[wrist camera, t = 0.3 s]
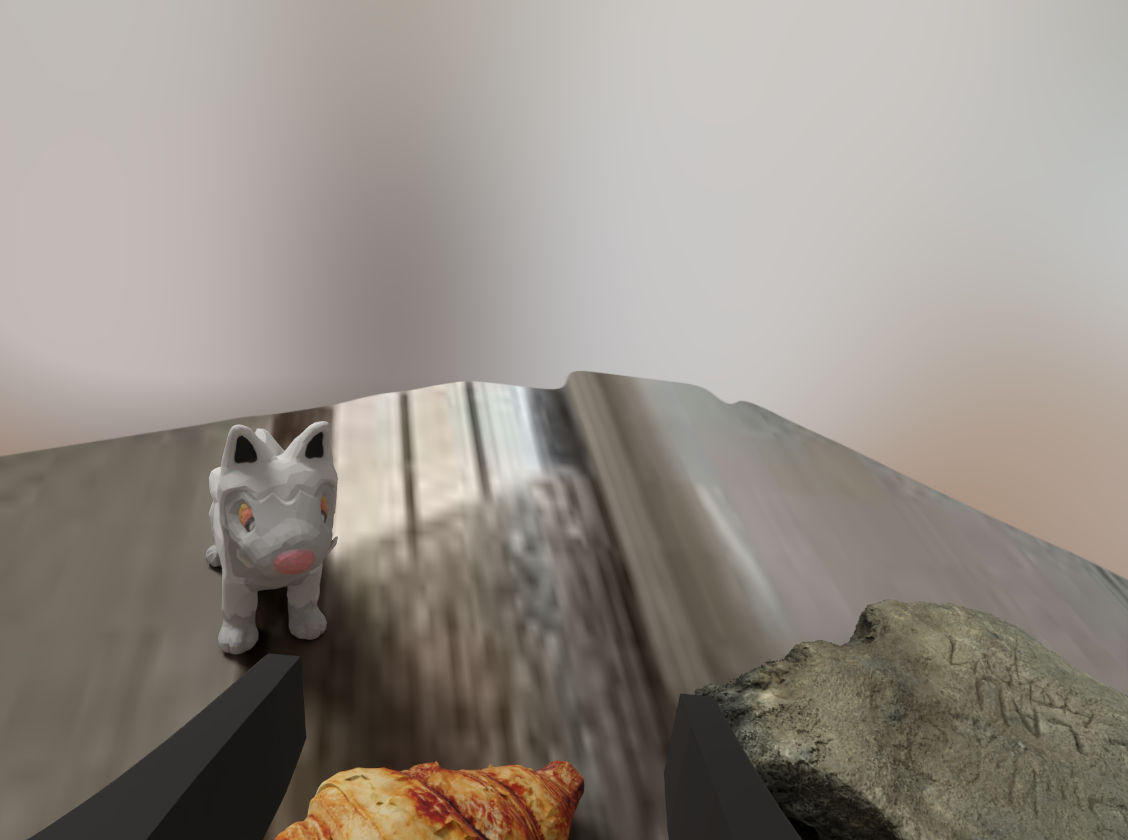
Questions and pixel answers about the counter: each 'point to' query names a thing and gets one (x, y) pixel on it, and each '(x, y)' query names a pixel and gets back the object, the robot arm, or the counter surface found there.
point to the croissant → (443, 804)
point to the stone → (935, 732)
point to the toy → (272, 528)
